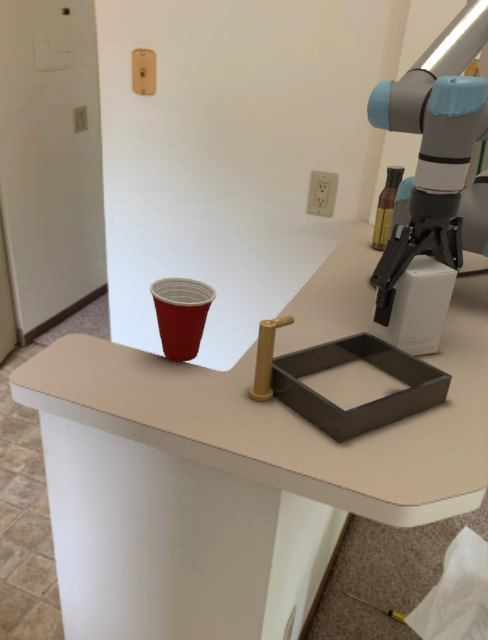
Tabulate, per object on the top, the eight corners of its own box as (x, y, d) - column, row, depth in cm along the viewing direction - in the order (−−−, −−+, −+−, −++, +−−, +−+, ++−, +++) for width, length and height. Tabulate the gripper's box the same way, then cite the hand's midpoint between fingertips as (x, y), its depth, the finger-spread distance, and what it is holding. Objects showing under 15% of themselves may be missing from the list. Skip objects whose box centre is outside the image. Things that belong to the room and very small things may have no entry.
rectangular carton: (438, 353, 106) (460, 270, 98) (393, 359, 104) (412, 275, 96) (408, 332, 113) (426, 253, 105) (365, 337, 111) (381, 257, 103)
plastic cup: (207, 373, 98) (210, 303, 92) (142, 365, 100) (141, 296, 94) (218, 344, 107) (222, 279, 101) (158, 337, 109) (158, 273, 103)
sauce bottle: (400, 248, 157) (417, 167, 147) (388, 253, 153) (404, 170, 143) (377, 242, 161) (392, 163, 150) (365, 247, 157) (379, 166, 147)
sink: (360, 355, 105) (373, 287, 98) (445, 401, 92) (466, 327, 86) (242, 391, 94) (248, 317, 87) (320, 450, 81) (333, 369, 74)
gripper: (467, 176, 103) (438, 295, 114) (361, 192, 92) (340, 322, 103) (508, 185, 97) (472, 309, 109) (400, 203, 86) (373, 339, 97)
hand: (408, 316), depth 106 cm, fingers open, 13 cm apart
